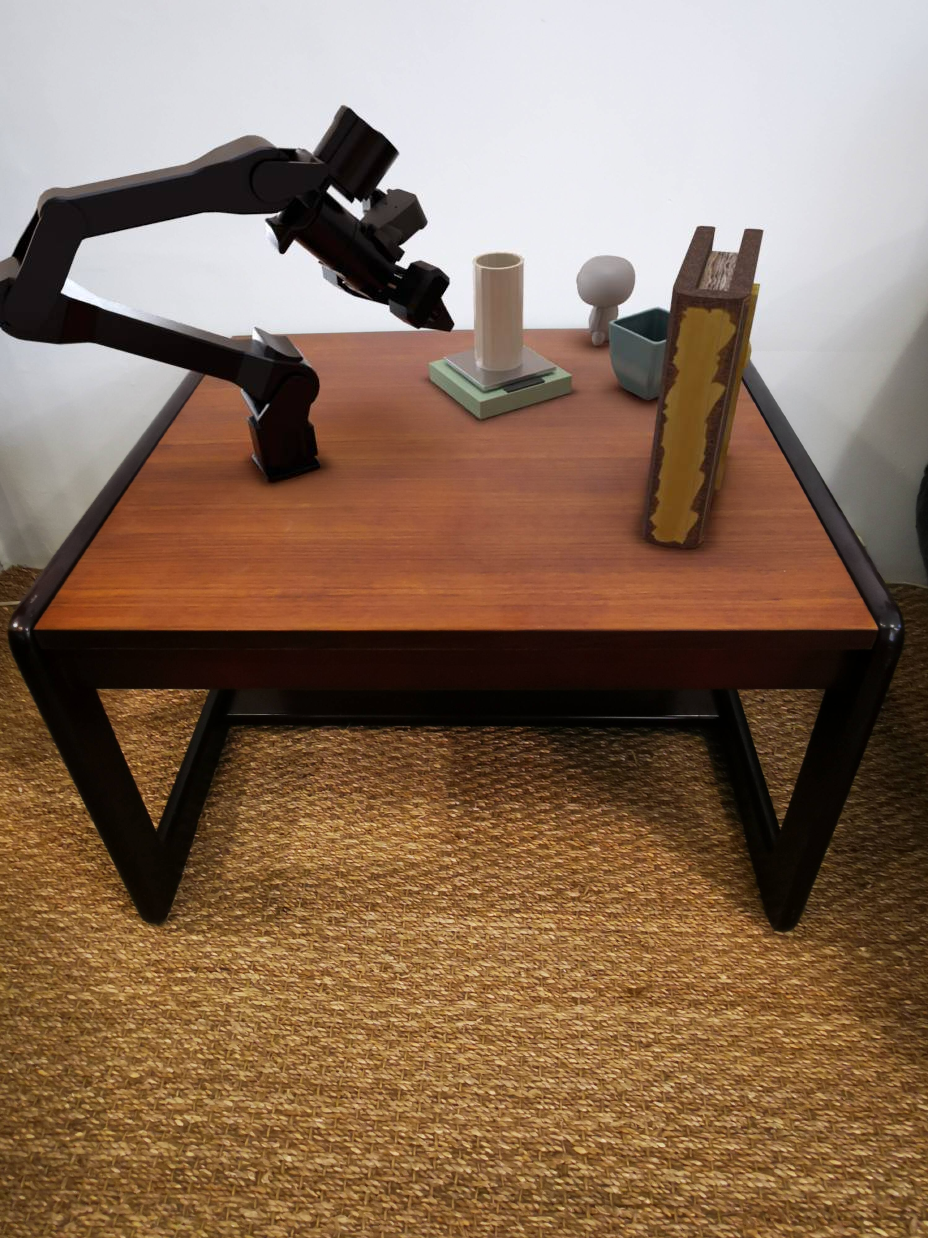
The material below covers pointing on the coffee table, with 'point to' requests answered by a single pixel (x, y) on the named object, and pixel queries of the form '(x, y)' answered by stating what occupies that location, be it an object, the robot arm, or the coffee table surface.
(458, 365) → the scale pan
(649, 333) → the flower pot
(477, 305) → the cup
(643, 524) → the book
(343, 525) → the coffee table surface
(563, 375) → the scale
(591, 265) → the figurine
